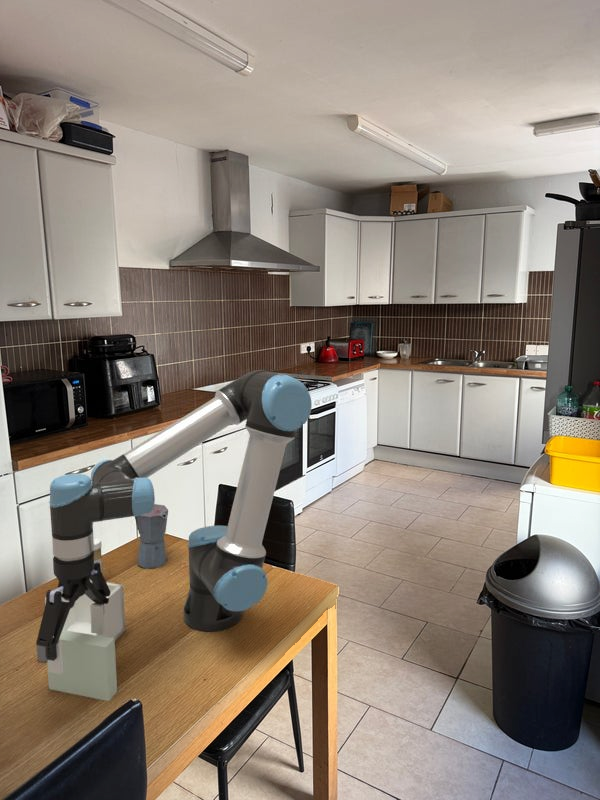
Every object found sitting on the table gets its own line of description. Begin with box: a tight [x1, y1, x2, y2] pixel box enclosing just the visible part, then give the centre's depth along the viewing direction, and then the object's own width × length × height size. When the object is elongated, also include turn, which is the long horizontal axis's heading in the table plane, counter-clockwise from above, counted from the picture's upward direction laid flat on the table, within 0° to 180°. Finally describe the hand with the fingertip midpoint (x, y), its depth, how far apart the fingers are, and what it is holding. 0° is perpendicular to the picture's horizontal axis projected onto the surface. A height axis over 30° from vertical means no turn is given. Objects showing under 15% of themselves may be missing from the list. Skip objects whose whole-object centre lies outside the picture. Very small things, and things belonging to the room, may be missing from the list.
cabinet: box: [35, 580, 127, 663], centre depth 129 cm, size 14×15×12 cm
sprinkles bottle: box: [89, 537, 104, 580], centre depth 156 cm, size 5×5×13 cm
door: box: [46, 630, 118, 702], centre depth 113 cm, size 14×4×12 cm, turn 76°
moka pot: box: [134, 503, 169, 569], centre depth 169 cm, size 10×15×20 cm, turn 58°
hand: (78, 651), depth 113 cm, fingers open, 13 cm apart
